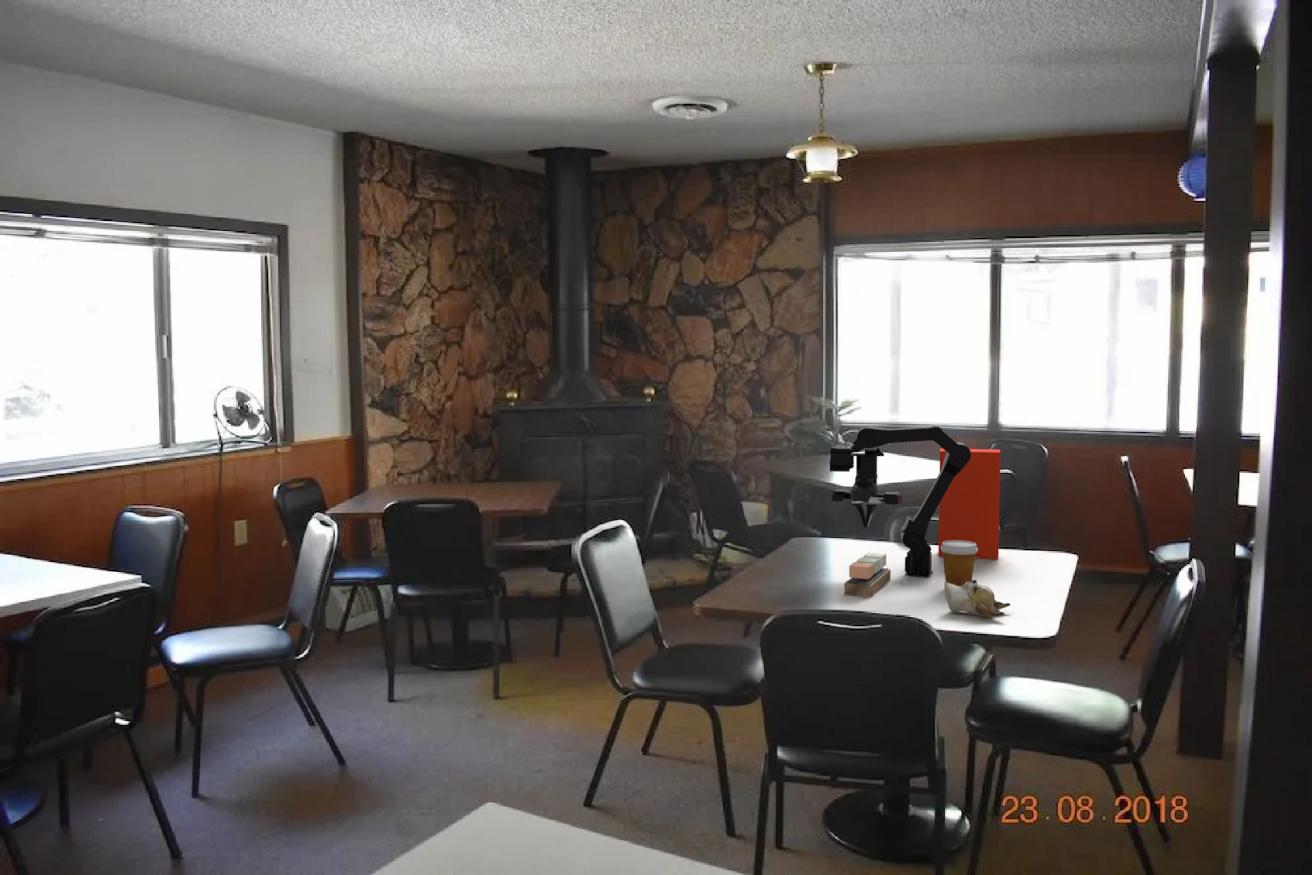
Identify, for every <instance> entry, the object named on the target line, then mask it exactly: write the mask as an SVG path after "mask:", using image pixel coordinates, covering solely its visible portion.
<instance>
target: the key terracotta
mask: <svg viewBox="0 0 1312 875" xmlns="http://www.w3.org/2000/svg"><path fill="white" fill-rule="evenodd" d="M848 569H849V570H848V575H849V576H848V577H849V578H850V579H851V578H863V579H869V578H870V577H872V576H873V564H871V563H859V562H856V561H855V562H854V561H853V563H851V564H850V565H849V566H848Z"/></svg>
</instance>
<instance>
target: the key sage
mask: <svg viewBox="0 0 1312 875" xmlns="http://www.w3.org/2000/svg"><path fill="white" fill-rule="evenodd" d="M855 562H859V563H871V564H873V573H874V574H875V573H877V572H878V571H879V570H880V559H878V558H865V557H863V556H862V557H860V558H858V559H857V560H856V561H855Z"/></svg>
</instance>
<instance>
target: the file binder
mask: <svg viewBox="0 0 1312 875" xmlns="http://www.w3.org/2000/svg"><path fill="white" fill-rule="evenodd" d="M969 449H970V452H971V458H970V460H969V462H968V463H967V464H966V465H965V467H964V468H963V469H962V470H961V471H960V472H959V473H958V474H957V475H956V476H955V477H954V479H953V480H952V482H951V484H950V486H949V488H948V489H947V491H946V493H945V495H944V496H943V498H942V500H941V502H940V504H939V505H938V547H937V548H938V552H937V553H938V557H939V558H941V557H942V558H943V555H942V551H941V549H940V547H941V546H942V542H945V541H954V540H957V541H969V542H973V543H976V546H977V548H978V551H977V553H976V557H975V559H982V560H983V559H985V560H987V559H990V560H999V551H1000V550H999V549H1000V548H999V546H1000V501H1001V500H1000V499H1001V498H1000V496H1001V493H1000V492H1001V454H1002V453H1001V452H1002V451H1001V450H1000V449H995V448H994V449H993V448H991V449H990V448H989V449H988V448H987V449H985V448H984V449H981V448H980V449H979V448H969ZM946 453H947V452H946V451H945V450H944V449H943V448H940V450H939V473H940V472H941V469H942V466H943V462H944V458H945V455H946Z"/></svg>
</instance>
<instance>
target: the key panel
mask: <svg viewBox="0 0 1312 875" xmlns="http://www.w3.org/2000/svg"><path fill="white" fill-rule="evenodd" d="M891 570H892V569H889V568H887V567H883V568H880V570H879V571H878V572H877V573H875V574H874V573H873V576H872V577H870V578H869V579H863V578H851V577H850V578H849V579H848V580H847V581H845V582H844V584H843V587H844V590H843V595H845V596H855V597H863V598H872V597H873V596H875V594H877V593H878V592H879V591H880V590H882V588H884V587H885V586H886V585H887V584H888V583H889V582H890V581H891V576H892V575H891V574H892V573H891Z"/></svg>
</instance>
